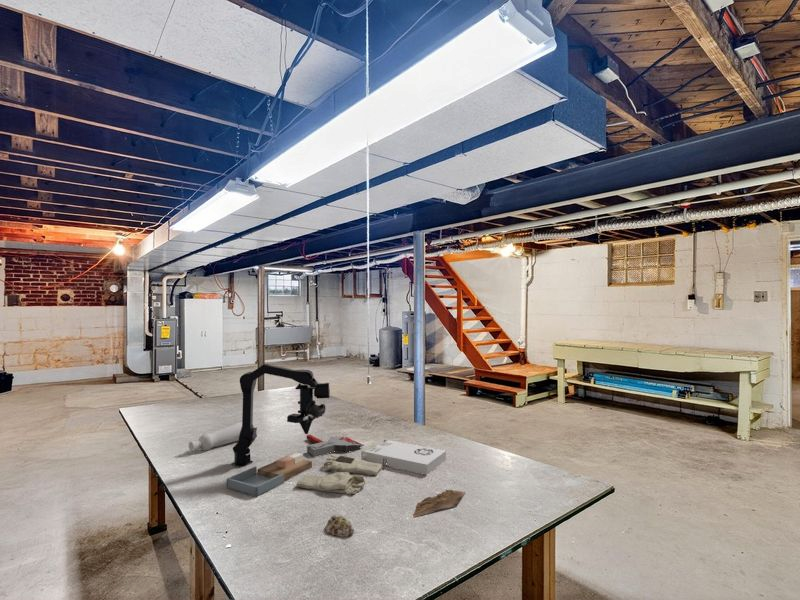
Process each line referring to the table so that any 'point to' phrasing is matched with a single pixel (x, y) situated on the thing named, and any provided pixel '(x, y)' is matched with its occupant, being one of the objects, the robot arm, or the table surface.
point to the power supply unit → (405, 456)
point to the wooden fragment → (438, 502)
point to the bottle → (217, 438)
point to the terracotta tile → (285, 462)
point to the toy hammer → (331, 445)
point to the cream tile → (296, 457)
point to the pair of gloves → (341, 475)
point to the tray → (253, 482)
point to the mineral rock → (339, 526)
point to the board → (284, 469)
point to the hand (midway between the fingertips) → (306, 433)
